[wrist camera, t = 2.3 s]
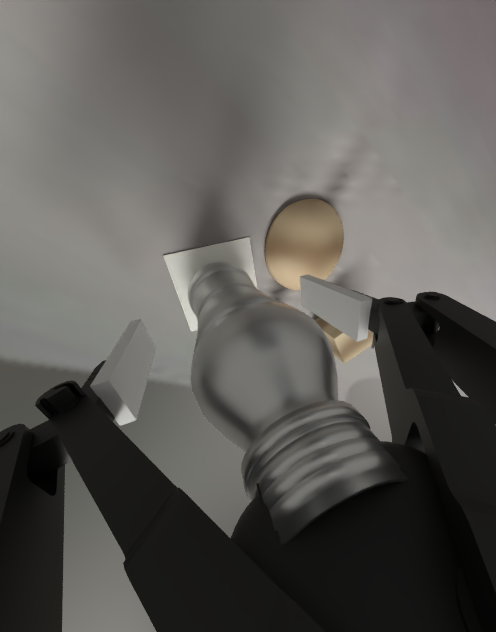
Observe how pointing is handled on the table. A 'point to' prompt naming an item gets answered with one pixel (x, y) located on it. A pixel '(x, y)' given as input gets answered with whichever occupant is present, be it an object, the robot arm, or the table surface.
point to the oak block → (343, 341)
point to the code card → (193, 260)
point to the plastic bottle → (279, 401)
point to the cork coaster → (303, 242)
